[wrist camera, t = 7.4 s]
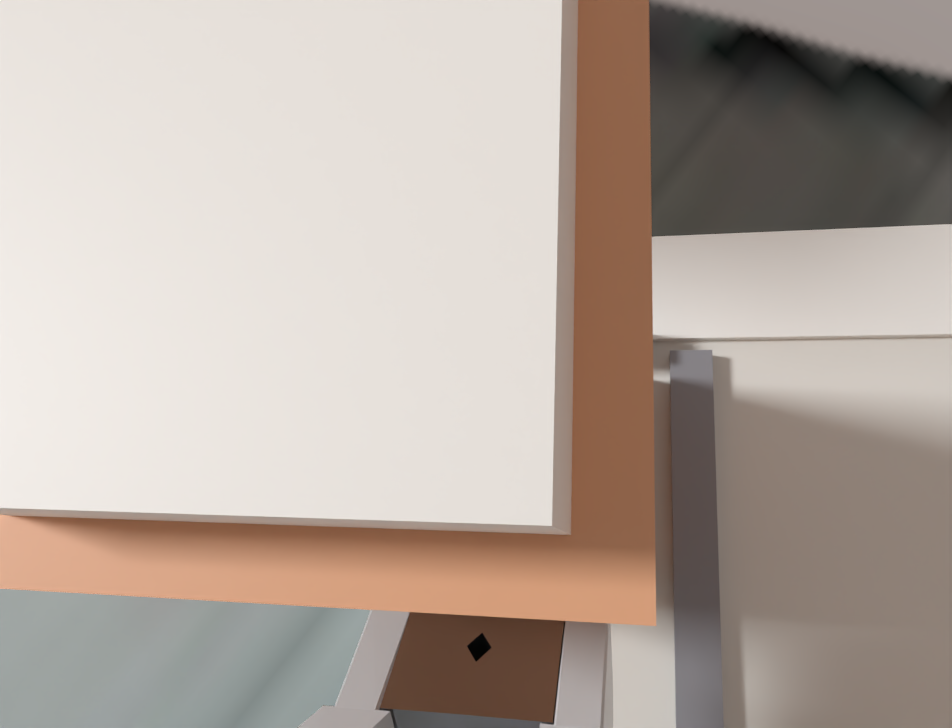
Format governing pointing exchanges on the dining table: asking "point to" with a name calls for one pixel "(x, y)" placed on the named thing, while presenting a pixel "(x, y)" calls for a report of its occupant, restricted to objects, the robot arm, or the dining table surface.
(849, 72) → the dining table surface
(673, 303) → the white base plate
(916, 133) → the dining table surface
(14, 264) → the tan tall bar
